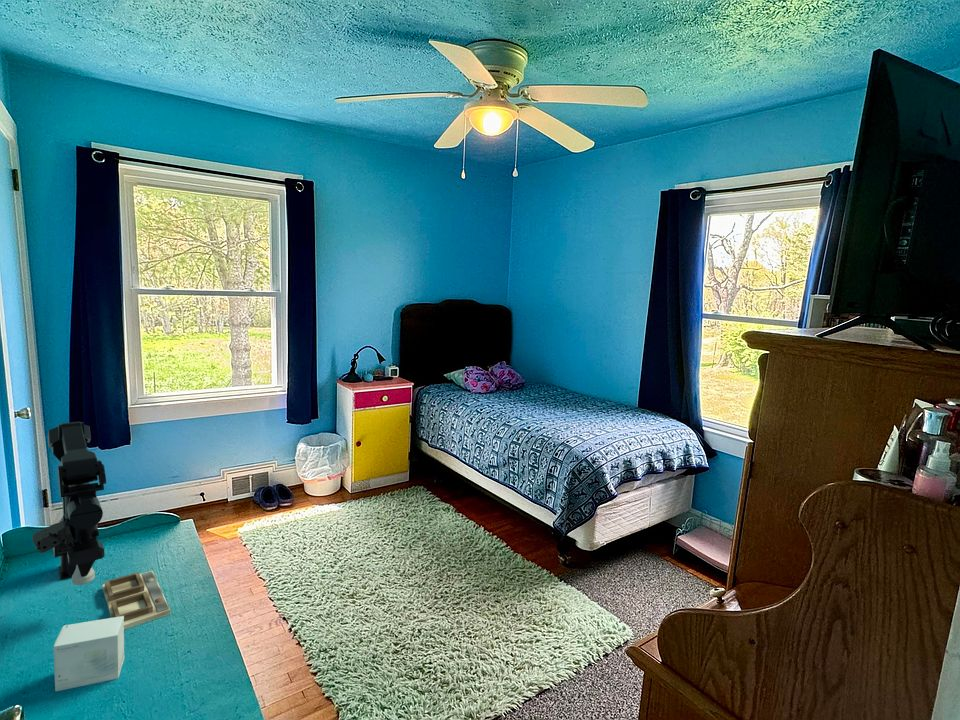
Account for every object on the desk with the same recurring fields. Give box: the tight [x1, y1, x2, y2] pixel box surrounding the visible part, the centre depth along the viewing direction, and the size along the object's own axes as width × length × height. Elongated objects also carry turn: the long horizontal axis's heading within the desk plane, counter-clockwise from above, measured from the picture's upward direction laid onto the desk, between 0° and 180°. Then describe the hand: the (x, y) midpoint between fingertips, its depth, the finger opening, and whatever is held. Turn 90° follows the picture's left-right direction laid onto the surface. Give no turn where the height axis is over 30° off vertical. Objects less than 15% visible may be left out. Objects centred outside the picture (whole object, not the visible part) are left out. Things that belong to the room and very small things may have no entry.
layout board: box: [101, 570, 171, 631], centre depth 125 cm, size 20×11×3 cm, turn 44°
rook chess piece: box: [71, 565, 96, 586], centre depth 117 cm, size 4×4×8 cm
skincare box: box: [53, 616, 126, 692], centre depth 102 cm, size 10×6×10 cm, turn 115°
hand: (83, 572), depth 117 cm, fingers closed on rook chess piece, 3 cm apart
